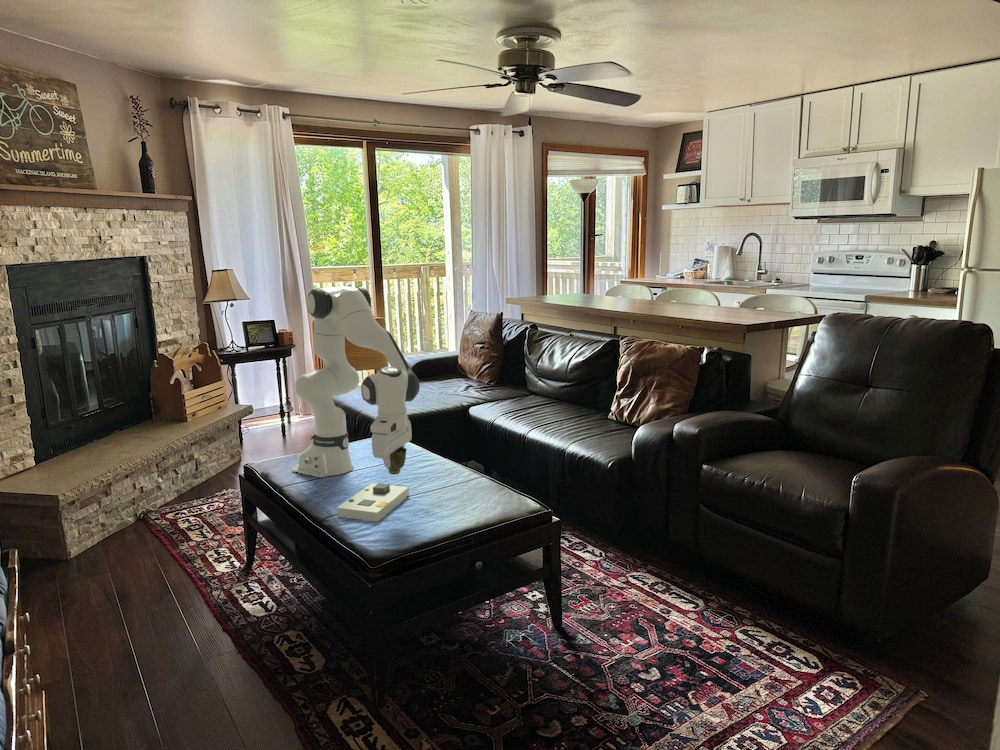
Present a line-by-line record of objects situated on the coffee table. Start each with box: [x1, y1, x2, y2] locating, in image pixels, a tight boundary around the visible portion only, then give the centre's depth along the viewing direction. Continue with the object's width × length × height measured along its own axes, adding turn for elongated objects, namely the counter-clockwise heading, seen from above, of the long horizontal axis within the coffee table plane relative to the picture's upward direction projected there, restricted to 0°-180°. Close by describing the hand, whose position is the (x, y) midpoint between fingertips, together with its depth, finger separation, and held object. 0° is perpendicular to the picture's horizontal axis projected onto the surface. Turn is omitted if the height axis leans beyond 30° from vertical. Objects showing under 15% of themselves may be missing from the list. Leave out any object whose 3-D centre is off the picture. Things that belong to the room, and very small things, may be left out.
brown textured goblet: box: [383, 447, 407, 476], centre depth 205 cm, size 8×7×8 cm
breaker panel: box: [336, 482, 410, 523], centre depth 213 cm, size 14×22×3 cm, turn 162°
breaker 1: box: [358, 499, 375, 506], centre depth 209 cm, size 4×4×3 cm
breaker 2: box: [373, 482, 391, 495], centre depth 218 cm, size 4×4×3 cm
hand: (394, 462), depth 205 cm, fingers closed on brown textured goblet, 6 cm apart
